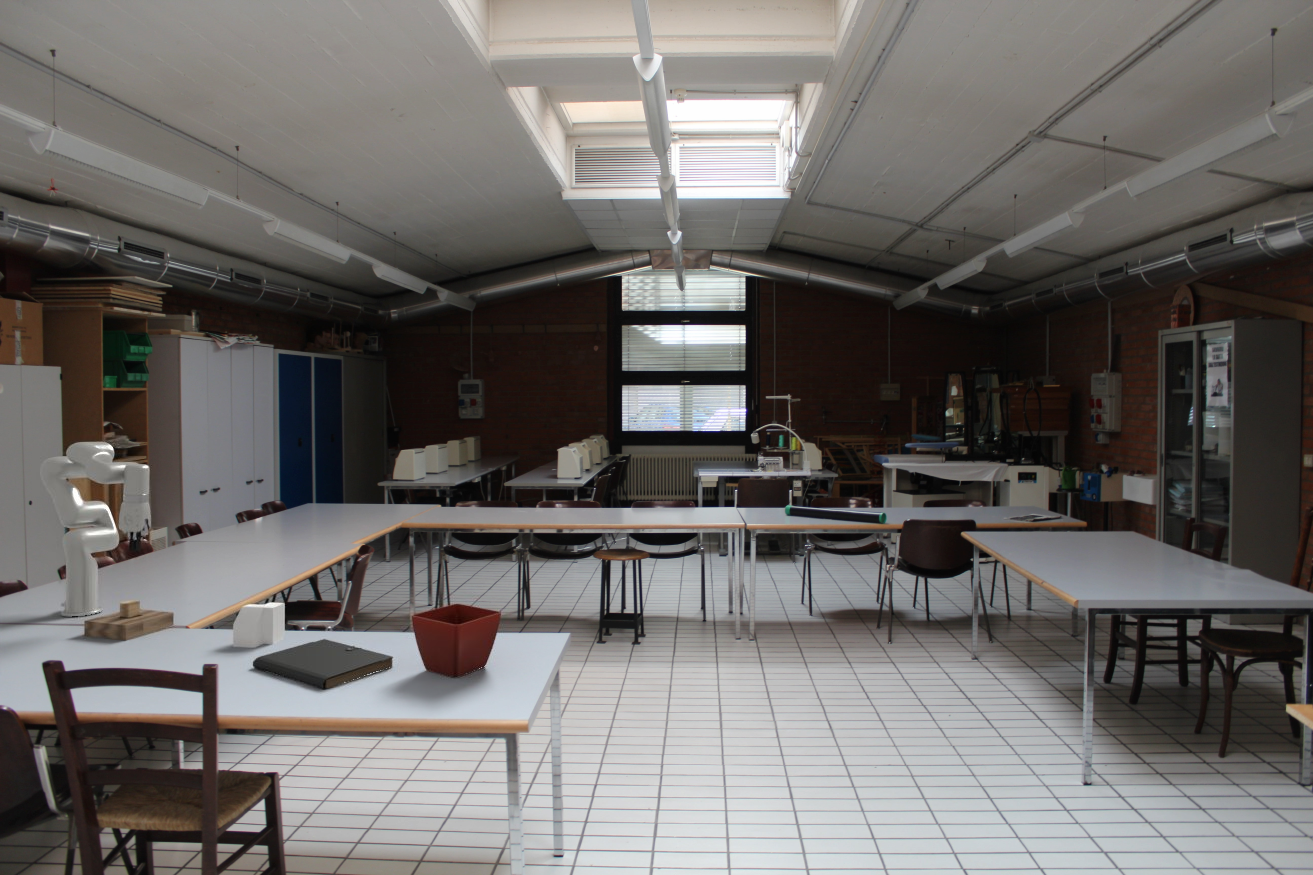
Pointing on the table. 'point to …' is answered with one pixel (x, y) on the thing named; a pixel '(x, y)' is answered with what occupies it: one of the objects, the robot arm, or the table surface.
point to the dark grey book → (323, 663)
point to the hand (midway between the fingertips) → (134, 550)
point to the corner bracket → (259, 625)
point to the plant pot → (455, 638)
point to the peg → (129, 609)
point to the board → (128, 625)
